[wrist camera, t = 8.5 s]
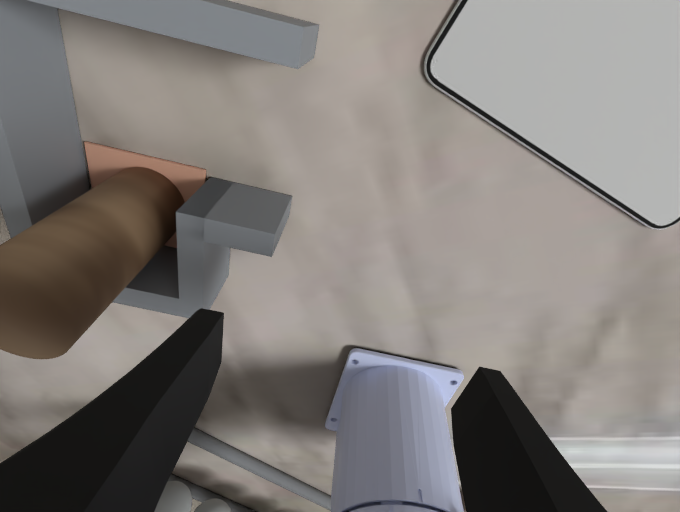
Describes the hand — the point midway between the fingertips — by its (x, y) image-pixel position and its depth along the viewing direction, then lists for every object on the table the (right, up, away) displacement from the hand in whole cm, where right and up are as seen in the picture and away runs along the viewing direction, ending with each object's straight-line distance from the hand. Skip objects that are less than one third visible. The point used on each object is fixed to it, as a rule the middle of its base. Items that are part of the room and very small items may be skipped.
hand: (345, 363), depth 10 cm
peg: (-10, +6, +9) cm, 15 cm away
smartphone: (+11, +10, +5) cm, 16 cm away
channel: (-8, +8, +8) cm, 14 cm away
